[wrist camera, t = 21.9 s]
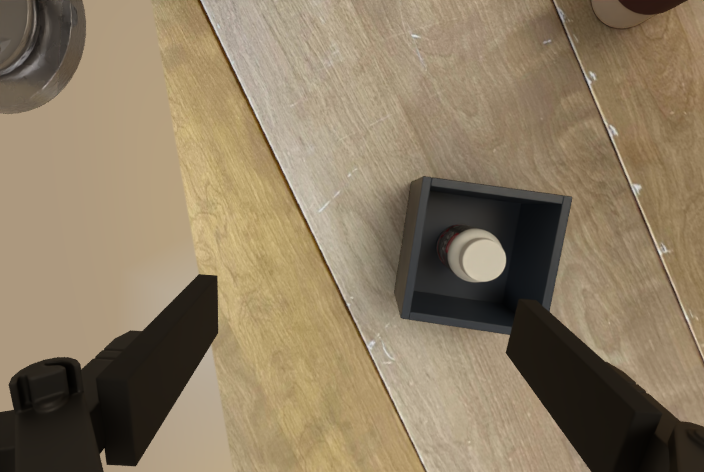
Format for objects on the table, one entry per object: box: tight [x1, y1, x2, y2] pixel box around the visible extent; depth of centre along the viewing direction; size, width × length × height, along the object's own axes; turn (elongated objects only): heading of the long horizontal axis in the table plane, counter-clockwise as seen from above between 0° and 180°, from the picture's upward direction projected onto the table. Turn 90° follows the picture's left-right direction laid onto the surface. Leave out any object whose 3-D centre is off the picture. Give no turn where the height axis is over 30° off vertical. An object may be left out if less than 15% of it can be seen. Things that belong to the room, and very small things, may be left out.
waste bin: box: [394, 176, 572, 335], centre depth 39 cm, size 14×14×10 cm
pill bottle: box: [437, 225, 506, 282], centre depth 38 cm, size 5×5×10 cm
